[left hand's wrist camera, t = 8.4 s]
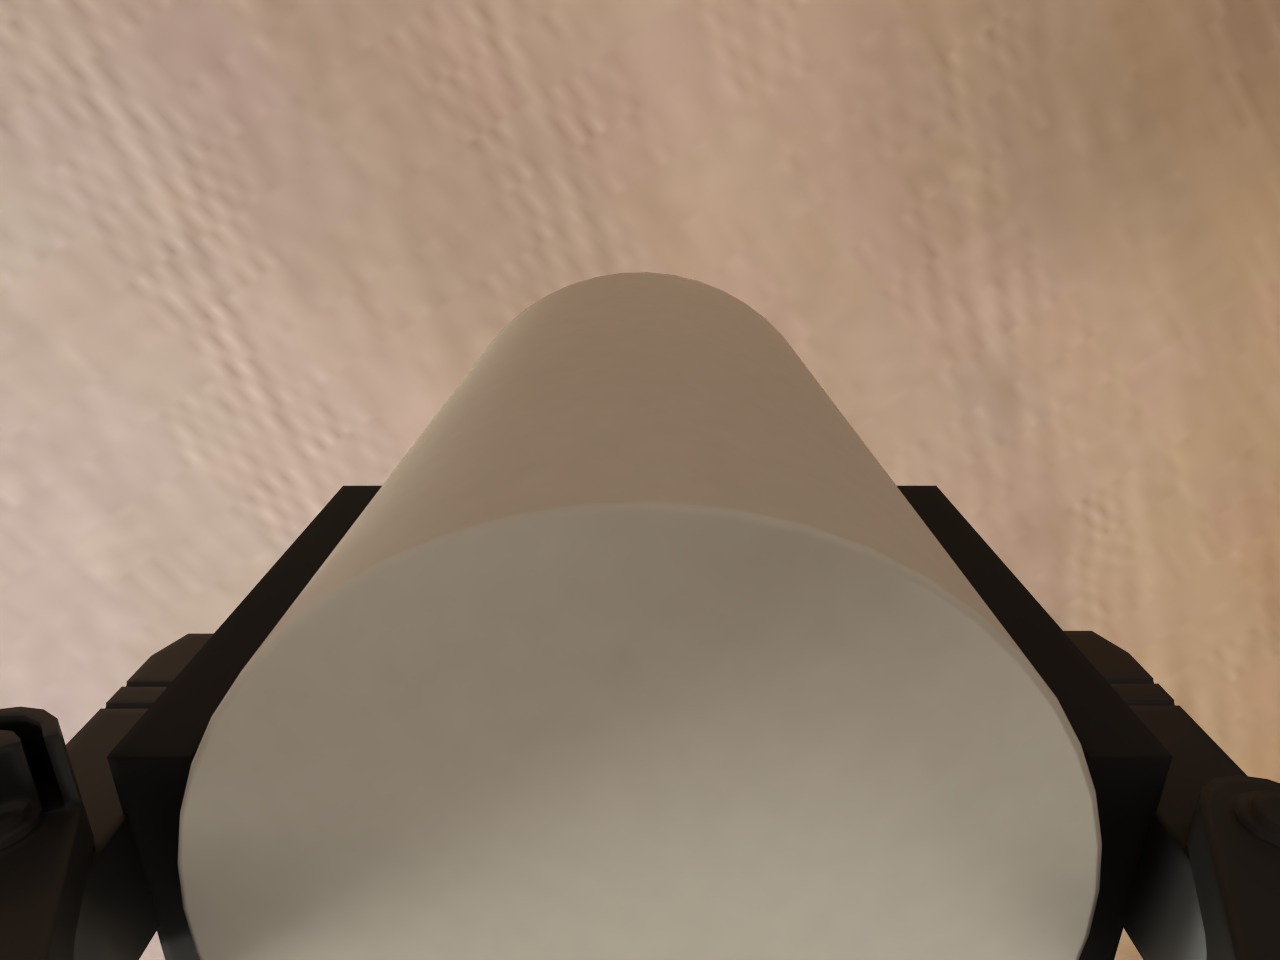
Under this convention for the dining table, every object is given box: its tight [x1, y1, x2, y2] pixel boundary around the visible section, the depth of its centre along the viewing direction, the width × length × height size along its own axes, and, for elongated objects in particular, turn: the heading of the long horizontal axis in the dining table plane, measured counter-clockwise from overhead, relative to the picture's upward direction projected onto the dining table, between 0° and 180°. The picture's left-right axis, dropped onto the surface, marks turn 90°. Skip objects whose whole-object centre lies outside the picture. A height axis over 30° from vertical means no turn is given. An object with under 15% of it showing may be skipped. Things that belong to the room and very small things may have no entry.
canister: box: [178, 272, 1102, 960], centre depth 13 cm, size 8×8×12 cm
